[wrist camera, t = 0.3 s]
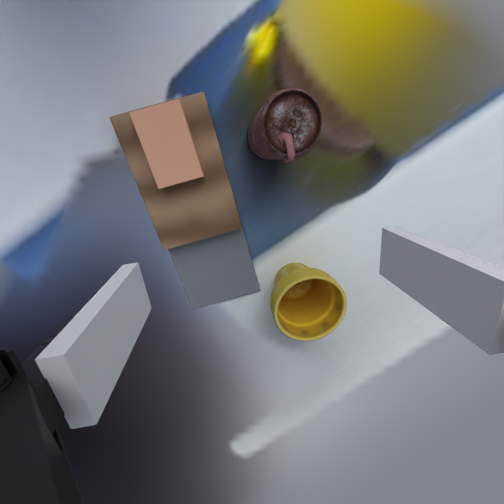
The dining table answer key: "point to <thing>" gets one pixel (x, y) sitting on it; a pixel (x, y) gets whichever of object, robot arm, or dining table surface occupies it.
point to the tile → (168, 143)
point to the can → (285, 126)
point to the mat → (215, 268)
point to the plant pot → (306, 302)
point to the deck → (189, 192)
